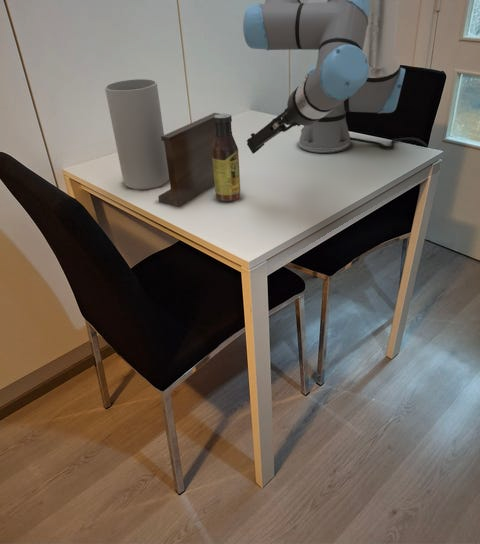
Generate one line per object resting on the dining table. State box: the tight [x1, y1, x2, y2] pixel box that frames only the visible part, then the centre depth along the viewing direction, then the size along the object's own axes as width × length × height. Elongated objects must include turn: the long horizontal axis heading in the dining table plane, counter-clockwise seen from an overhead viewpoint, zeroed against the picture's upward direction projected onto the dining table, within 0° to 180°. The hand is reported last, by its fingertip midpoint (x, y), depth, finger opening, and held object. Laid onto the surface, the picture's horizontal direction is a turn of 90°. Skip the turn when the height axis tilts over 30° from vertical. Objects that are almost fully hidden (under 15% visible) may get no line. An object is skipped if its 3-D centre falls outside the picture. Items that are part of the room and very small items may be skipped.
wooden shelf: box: [157, 112, 221, 208], centre depth 120 cm, size 6×21×17 cm, turn 147°
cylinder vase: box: [104, 78, 170, 190], centre depth 125 cm, size 12×12×25 cm
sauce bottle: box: [212, 113, 241, 202], centre depth 114 cm, size 7×6×20 cm
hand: (274, 134), depth 114 cm, fingers open, 13 cm apart
